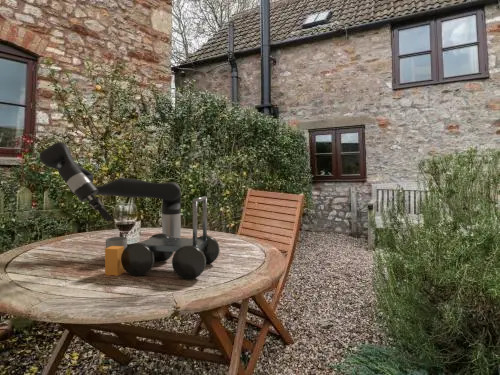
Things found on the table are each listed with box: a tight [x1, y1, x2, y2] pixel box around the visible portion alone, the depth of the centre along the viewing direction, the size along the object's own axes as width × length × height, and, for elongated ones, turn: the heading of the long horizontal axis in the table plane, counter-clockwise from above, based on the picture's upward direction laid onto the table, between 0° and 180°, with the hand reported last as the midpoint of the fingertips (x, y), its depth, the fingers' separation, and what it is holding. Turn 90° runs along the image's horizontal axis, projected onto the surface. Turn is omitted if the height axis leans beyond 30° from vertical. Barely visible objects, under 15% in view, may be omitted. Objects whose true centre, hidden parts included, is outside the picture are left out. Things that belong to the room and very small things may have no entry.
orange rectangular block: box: [104, 246, 125, 277], centre depth 122 cm, size 5×4×10 cm
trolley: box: [121, 195, 221, 281], centre depth 127 cm, size 32×21×29 cm
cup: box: [105, 236, 128, 249], centre depth 137 cm, size 8×8×10 cm
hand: (108, 218), depth 127 cm, fingers open, 8 cm apart
